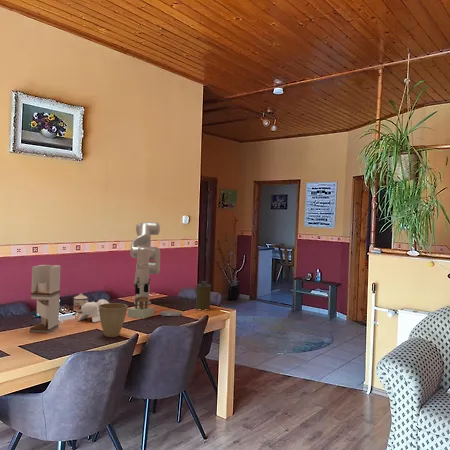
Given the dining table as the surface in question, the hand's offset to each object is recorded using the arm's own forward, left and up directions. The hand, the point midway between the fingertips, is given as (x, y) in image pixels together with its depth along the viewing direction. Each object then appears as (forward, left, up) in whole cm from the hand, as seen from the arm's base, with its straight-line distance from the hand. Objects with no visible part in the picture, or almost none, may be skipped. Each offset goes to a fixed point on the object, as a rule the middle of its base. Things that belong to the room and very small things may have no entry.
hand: (141, 293), depth 276 cm
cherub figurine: (-19, -22, -15) cm, 33 cm away
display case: (-24, -57, -15) cm, 63 cm away
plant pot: (+14, -47, -15) cm, 51 cm away
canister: (+24, +42, -15) cm, 51 cm away
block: (0, 0, -15) cm, 15 cm away
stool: (0, 0, -10) cm, 10 cm away
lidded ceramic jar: (-40, -10, -15) cm, 44 cm away
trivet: (+14, +14, -15) cm, 25 cm away
